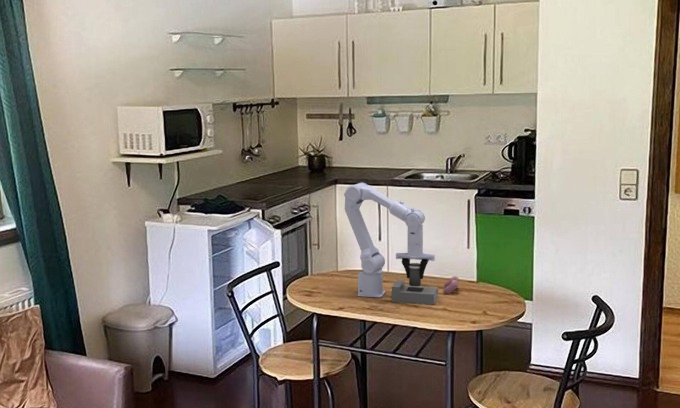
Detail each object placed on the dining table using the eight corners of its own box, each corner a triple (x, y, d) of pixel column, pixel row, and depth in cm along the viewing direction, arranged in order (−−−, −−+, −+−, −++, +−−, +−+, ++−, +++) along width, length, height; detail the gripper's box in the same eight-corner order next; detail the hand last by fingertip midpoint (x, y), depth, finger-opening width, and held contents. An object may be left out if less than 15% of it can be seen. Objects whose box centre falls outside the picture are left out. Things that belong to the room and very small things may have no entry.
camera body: (391, 302, 263) (391, 286, 262) (397, 294, 272) (397, 279, 271) (434, 304, 258) (434, 289, 257) (437, 297, 268) (438, 282, 267)
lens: (407, 286, 262) (407, 265, 261) (409, 283, 267) (409, 262, 266) (420, 286, 261) (420, 265, 260) (422, 283, 266) (422, 263, 265)
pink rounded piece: (452, 298, 271) (460, 283, 270) (442, 293, 272) (450, 277, 270) (453, 291, 281) (461, 276, 279) (443, 286, 281) (451, 271, 280)
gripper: (394, 244, 260) (394, 279, 262) (432, 246, 256) (432, 281, 258) (397, 240, 267) (397, 274, 269) (435, 242, 263) (435, 277, 265)
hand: (415, 278), depth 264 cm, fingers closed on lens, 4 cm apart
